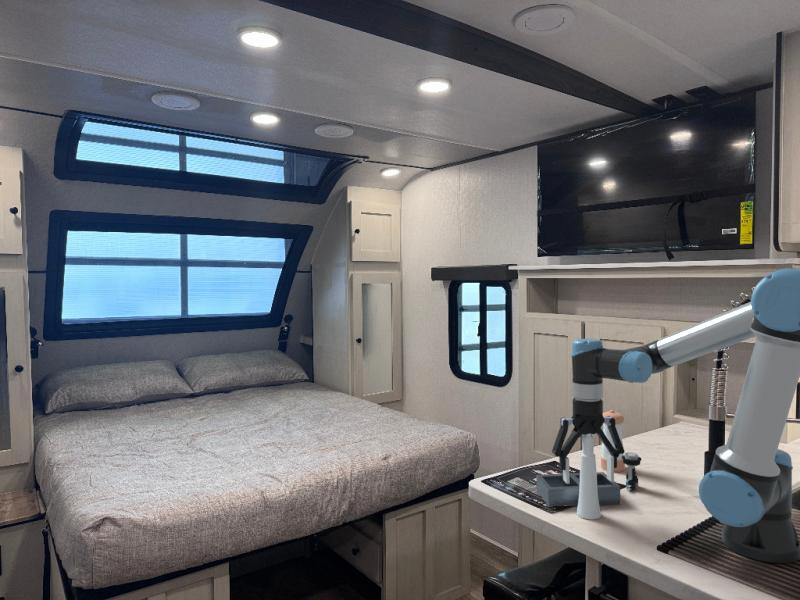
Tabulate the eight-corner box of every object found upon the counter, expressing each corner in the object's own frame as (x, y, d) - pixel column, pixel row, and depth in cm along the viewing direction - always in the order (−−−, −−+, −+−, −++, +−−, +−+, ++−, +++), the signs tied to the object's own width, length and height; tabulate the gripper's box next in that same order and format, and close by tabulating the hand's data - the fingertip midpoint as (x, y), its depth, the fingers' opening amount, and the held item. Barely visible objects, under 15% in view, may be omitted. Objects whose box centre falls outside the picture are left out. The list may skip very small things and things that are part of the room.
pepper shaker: (621, 473, 172) (620, 413, 171) (597, 469, 176) (597, 410, 175) (627, 467, 177) (627, 409, 177) (604, 462, 182) (604, 406, 181)
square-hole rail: (603, 488, 160) (603, 472, 160) (620, 504, 149) (620, 486, 149) (536, 491, 159) (536, 474, 159) (548, 507, 148) (548, 489, 148)
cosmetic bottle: (596, 509, 146) (595, 428, 145) (604, 519, 140) (603, 435, 139) (573, 510, 146) (572, 429, 145) (580, 520, 140) (579, 436, 139)
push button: (637, 494, 155) (637, 459, 155) (618, 490, 159) (617, 456, 158) (643, 486, 161) (643, 453, 160) (625, 483, 164) (624, 450, 164)
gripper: (625, 393, 146) (625, 473, 147) (538, 396, 145) (539, 477, 146) (638, 399, 138) (639, 484, 139) (547, 403, 137) (548, 488, 138)
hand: (588, 480), depth 143 cm, fingers open, 11 cm apart
